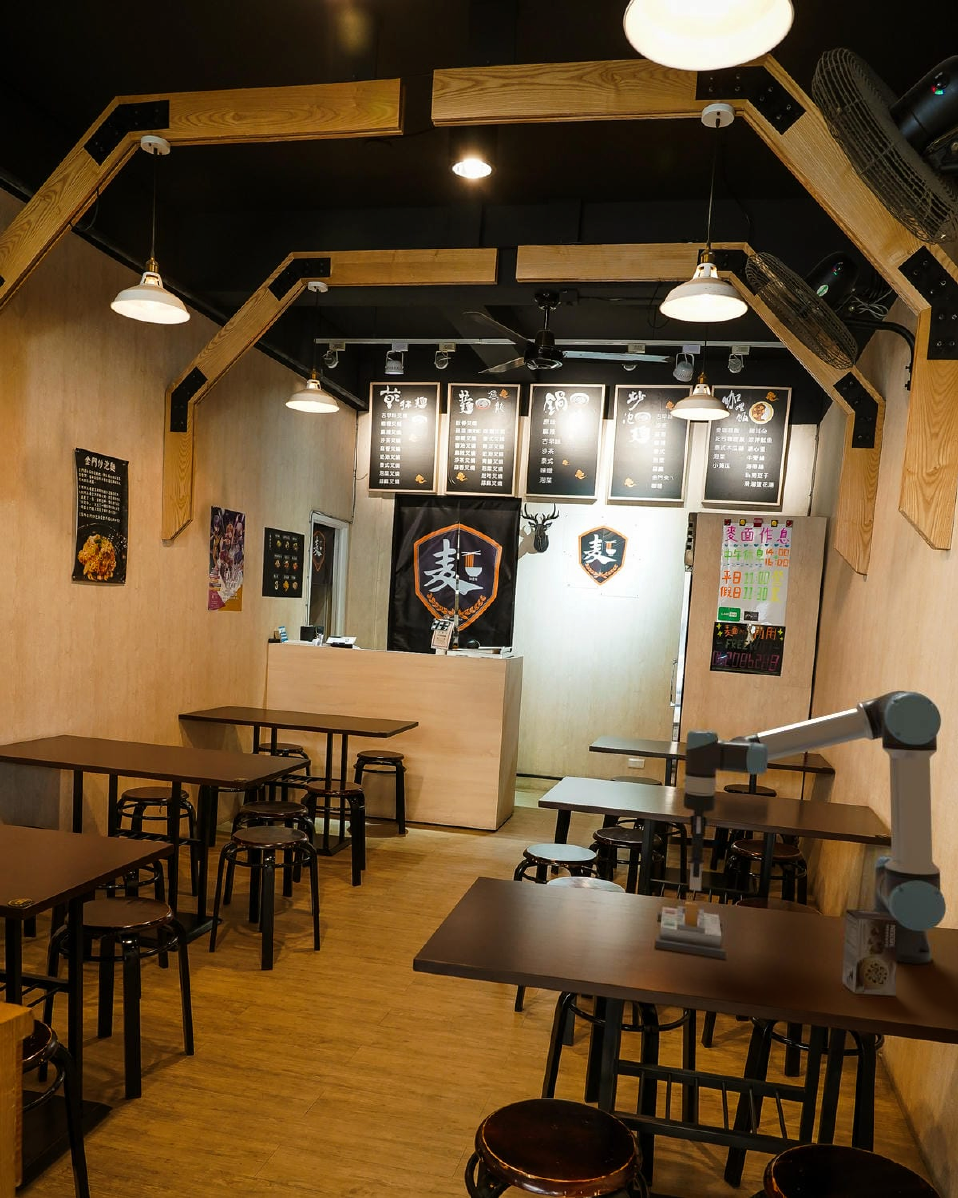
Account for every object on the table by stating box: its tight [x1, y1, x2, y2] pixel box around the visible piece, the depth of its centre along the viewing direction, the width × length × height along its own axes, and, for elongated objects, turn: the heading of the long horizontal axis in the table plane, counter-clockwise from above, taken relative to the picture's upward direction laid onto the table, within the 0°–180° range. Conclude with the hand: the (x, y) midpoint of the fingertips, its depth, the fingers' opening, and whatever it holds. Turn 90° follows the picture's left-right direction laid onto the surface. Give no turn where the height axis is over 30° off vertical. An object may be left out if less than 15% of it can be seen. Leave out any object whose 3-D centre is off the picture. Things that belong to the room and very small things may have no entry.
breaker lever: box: [684, 901, 700, 926], centre depth 216 cm, size 3×2×5 cm, turn 77°
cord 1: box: [657, 912, 723, 930], centre depth 230 cm, size 16×2×2 cm, turn 77°
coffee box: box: [841, 908, 899, 996], centre depth 194 cm, size 9×6×16 cm
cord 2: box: [654, 938, 727, 960], centre depth 208 cm, size 16×2×2 cm, turn 77°
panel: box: [659, 905, 722, 949], centre depth 219 cm, size 14×18×5 cm
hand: (695, 889), depth 221 cm, fingers closed
